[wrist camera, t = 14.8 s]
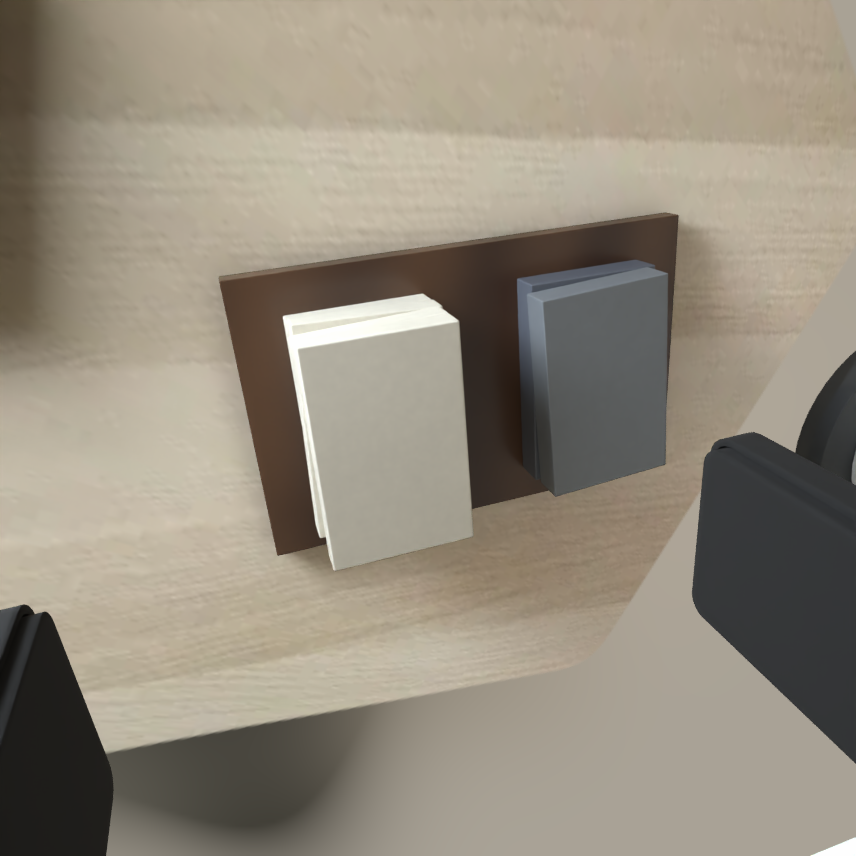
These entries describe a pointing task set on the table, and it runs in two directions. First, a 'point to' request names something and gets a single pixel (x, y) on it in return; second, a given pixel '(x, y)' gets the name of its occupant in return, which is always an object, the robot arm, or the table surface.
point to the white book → (387, 437)
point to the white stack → (342, 321)
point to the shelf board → (479, 333)
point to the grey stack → (593, 373)
